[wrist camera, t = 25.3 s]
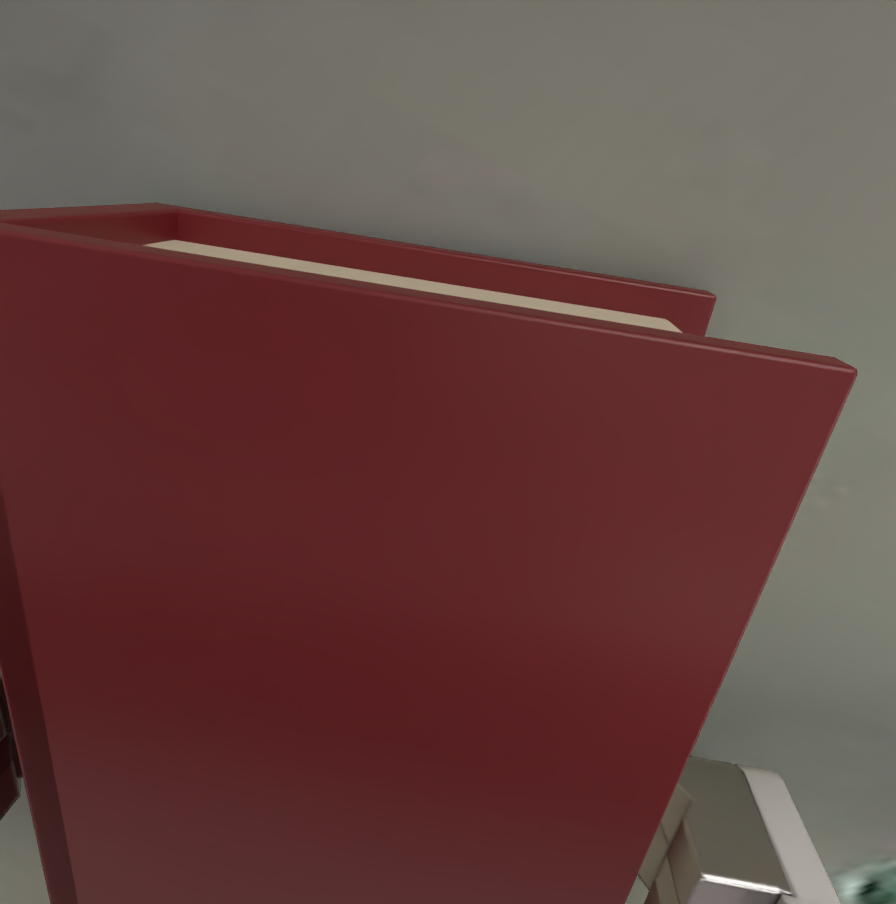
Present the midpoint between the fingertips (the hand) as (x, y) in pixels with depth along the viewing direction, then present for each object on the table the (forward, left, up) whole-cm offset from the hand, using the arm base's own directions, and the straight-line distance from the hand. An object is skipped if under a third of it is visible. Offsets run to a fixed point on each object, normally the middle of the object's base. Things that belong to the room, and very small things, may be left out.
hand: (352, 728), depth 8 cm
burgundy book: (0, 0, -1) cm, 1 cm away
